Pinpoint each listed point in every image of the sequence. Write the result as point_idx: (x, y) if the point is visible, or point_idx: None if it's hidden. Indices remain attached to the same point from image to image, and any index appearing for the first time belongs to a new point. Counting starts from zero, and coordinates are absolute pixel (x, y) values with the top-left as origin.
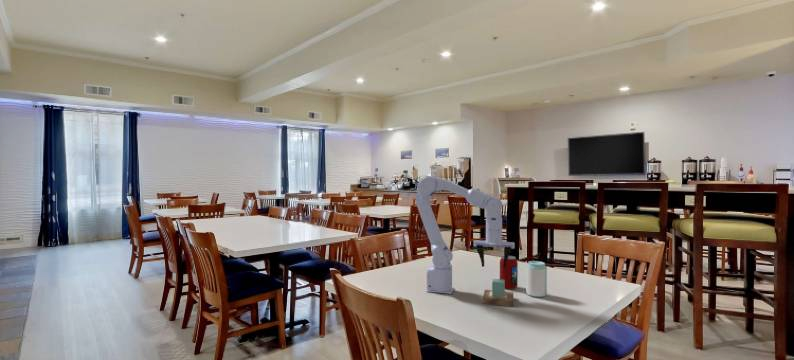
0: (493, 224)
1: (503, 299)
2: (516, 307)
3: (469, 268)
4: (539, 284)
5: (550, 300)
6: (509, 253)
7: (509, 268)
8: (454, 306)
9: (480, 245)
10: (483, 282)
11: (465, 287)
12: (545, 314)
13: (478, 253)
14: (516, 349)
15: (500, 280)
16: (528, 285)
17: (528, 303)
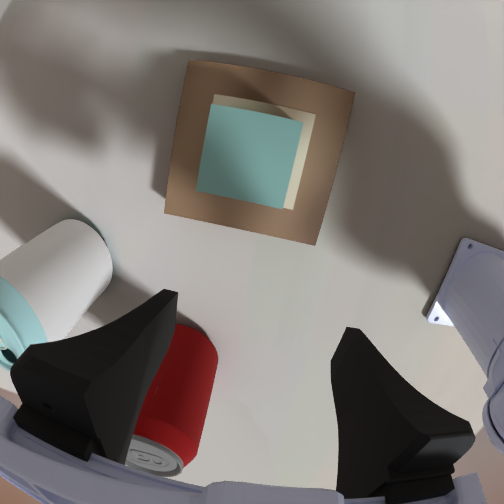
0: None
1: (239, 70)
2: (183, 58)
3: (292, 486)
4: (36, 238)
5: (42, 192)
6: (50, 342)
7: (150, 390)
8: (469, 68)
9: (412, 501)
10: (279, 398)
11: (374, 338)
12: (89, 11)
13: (434, 403)
14: None
15: (231, 161)
16: (84, 259)
17: (118, 129)
